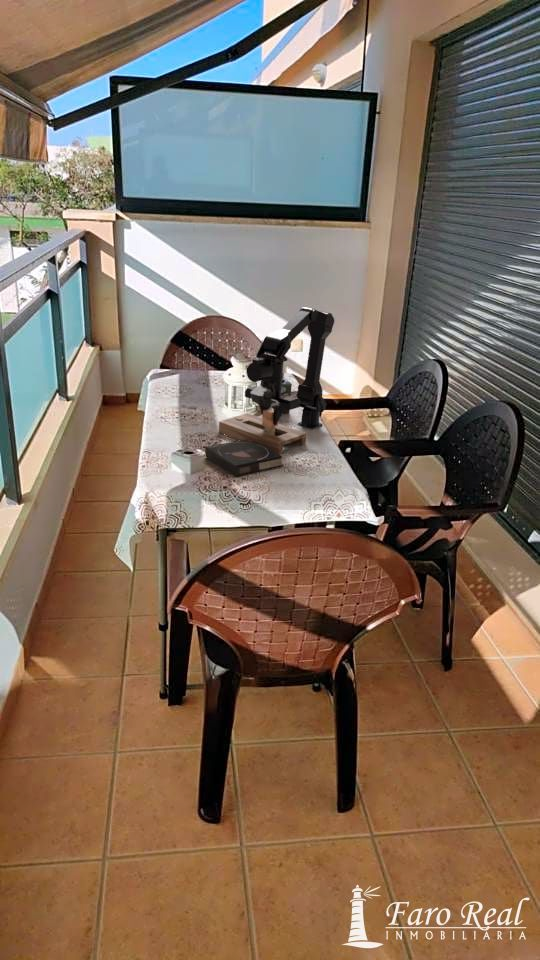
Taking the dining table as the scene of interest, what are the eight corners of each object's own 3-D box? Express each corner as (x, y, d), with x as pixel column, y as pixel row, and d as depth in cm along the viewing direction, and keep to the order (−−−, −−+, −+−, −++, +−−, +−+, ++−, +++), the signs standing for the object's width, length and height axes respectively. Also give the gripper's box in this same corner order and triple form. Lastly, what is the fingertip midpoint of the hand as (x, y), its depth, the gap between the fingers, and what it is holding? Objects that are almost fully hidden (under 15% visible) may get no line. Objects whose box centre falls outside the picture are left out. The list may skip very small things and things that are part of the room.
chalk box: (282, 406, 257) (285, 368, 251) (290, 413, 249) (293, 374, 243) (259, 407, 254) (261, 368, 248) (266, 414, 246) (269, 375, 240)
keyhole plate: (246, 424, 235) (247, 412, 233) (305, 444, 220) (306, 432, 218) (218, 432, 225) (219, 420, 223) (278, 454, 210) (279, 442, 208)
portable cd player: (235, 479, 192) (236, 466, 190) (205, 459, 204) (205, 446, 203) (281, 469, 201) (282, 456, 199) (249, 450, 213) (250, 438, 212)
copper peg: (268, 437, 223) (270, 407, 219) (278, 440, 221) (280, 410, 217) (259, 440, 220) (261, 410, 216) (269, 444, 218) (271, 413, 214)
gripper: (234, 374, 211) (232, 421, 218) (280, 387, 201) (276, 436, 207) (257, 368, 219) (254, 414, 226) (302, 381, 209) (298, 428, 215)
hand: (270, 423), depth 218 cm, fingers closed on copper peg, 4 cm apart
